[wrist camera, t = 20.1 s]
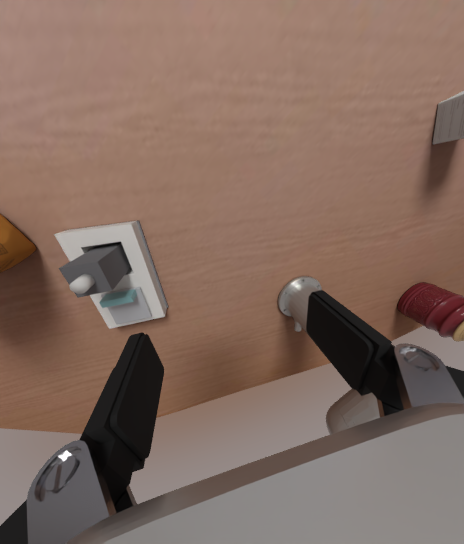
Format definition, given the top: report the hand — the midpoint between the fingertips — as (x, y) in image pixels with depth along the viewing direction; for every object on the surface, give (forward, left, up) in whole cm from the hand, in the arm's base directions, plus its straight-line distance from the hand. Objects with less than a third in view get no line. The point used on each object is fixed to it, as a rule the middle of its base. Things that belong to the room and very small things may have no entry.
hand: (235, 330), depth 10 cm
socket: (-6, +17, -27) cm, 32 cm away
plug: (-2, +17, -27) cm, 31 cm away
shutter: (-11, +17, -23) cm, 31 cm away
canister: (-33, -68, -27) cm, 80 cm away
